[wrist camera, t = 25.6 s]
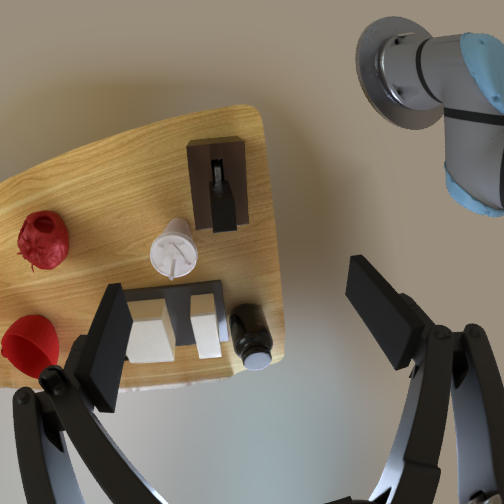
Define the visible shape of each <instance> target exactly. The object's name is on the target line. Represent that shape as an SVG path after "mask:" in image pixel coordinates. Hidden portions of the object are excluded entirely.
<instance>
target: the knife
mask: <svg viewBox="0 0 504 504" xmlns="http://www.w3.org/2000/svg"><path fill="white" fill-rule="evenodd" d="M213 167H214V178H215V181H210V182H209V192H210V206H211V216H212V225H213V233H220V232H229V231H237V222H236V208H235V199H234V196H233V193H232V190H231V187H230V184H229V181H228V180H221V173H220V166H219V162H218V159H214V160H213Z"/></svg>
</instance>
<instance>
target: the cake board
mask: <svg viewBox="0 0 504 504" xmlns="http://www.w3.org/2000/svg"><path fill="white" fill-rule="evenodd" d="M123 292H124V295H125V298H126V301H127V302H132V301H143V300H154V299H165V302H166V306H167V310H168V314H169V317H170V321H171V325H172V328H173V332H174V335H175V346H182V345H193V344H196V340H195V336H194V331H193V327H192V323H191V318H190V311H191V296H193V295H203V294H212V293H213V294H214V301H215V308H216V315H217V321H218V328H219V334H220V342H222V341H229V338H228V331H227V323H226V316H225V308H224V300H223V292H222V284H221V280H213V281H204V282H195V283H186V284H177V285H167V286H158V287H148V288H138V289H127V290H123Z"/></svg>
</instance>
